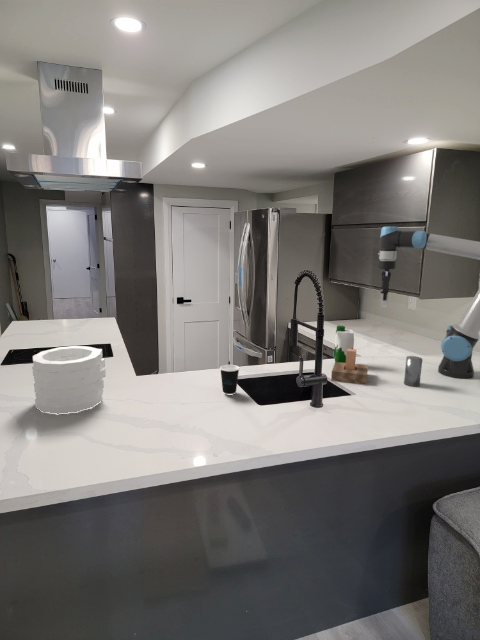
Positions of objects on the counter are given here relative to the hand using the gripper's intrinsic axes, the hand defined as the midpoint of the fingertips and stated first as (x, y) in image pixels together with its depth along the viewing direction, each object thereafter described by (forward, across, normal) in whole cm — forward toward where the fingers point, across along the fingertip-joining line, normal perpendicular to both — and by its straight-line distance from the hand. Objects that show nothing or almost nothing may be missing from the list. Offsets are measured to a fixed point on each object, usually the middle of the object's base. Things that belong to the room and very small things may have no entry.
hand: (383, 305), depth 197 cm
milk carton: (+32, +1, -17) cm, 36 cm away
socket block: (+31, +19, -13) cm, 39 cm away
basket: (+31, +85, -111) cm, 144 cm away
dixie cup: (+31, +57, -58) cm, 87 cm away
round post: (+32, +19, +14) cm, 39 cm away
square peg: (+31, +19, -13) cm, 39 cm away
